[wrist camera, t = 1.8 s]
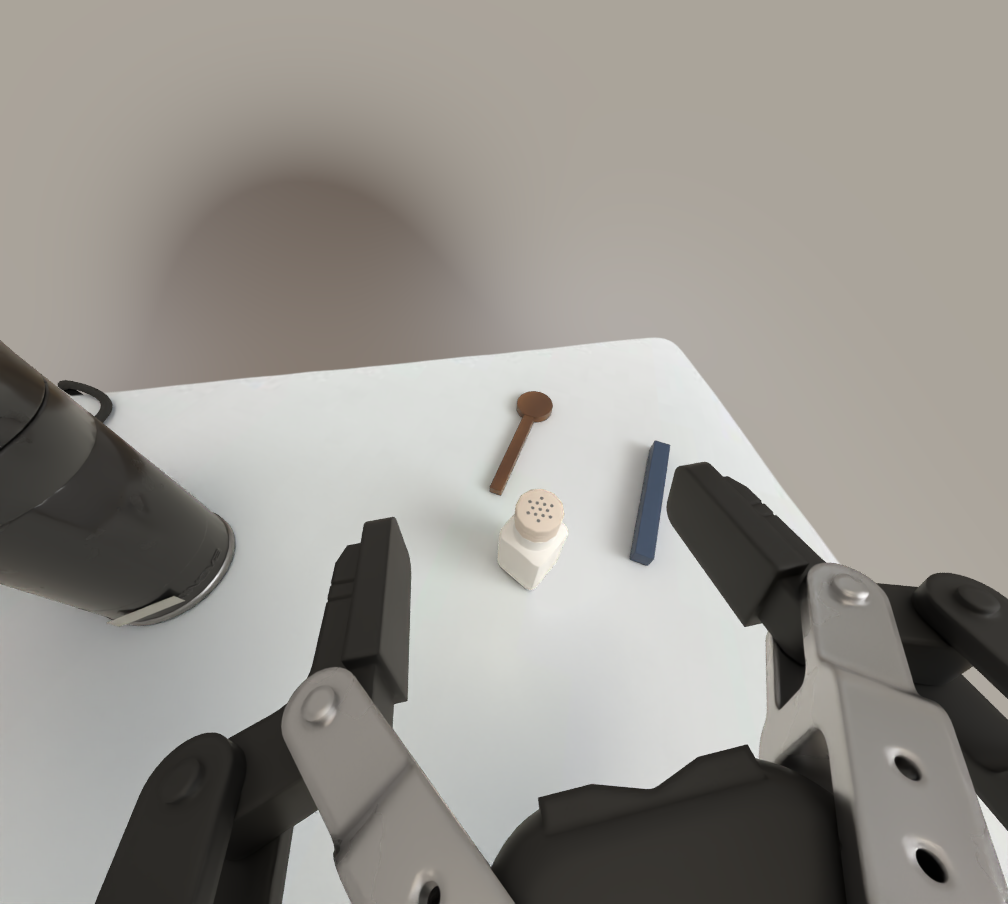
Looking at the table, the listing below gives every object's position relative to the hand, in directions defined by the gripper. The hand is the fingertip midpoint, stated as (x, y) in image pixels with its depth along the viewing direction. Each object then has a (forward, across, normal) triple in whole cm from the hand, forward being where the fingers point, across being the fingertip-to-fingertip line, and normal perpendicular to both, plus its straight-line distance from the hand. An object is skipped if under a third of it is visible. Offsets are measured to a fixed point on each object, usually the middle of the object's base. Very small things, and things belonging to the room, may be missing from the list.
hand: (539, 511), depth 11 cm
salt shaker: (+12, -2, +19) cm, 23 cm away
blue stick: (+16, -14, +19) cm, 29 cm away
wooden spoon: (+25, -4, +15) cm, 29 cm away
